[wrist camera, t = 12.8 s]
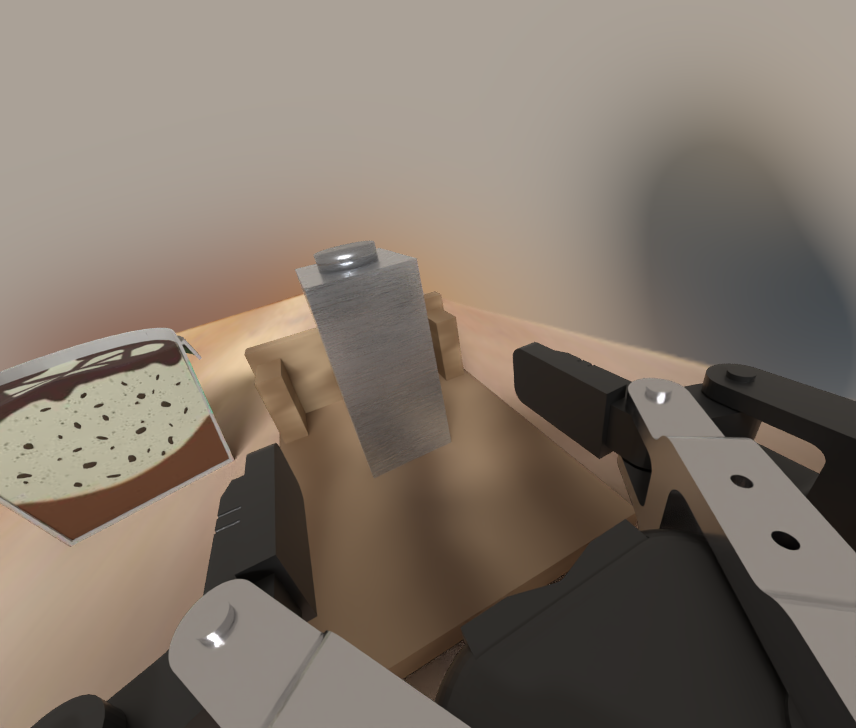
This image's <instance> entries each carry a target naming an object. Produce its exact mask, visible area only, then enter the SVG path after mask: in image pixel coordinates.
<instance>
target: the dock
mask: <svg viewBox="0 0 856 728" xmlns="http://www.w3.org/2000/svg"><path fill="white" fill-rule="evenodd" d="M424 300H425V305H426V311H427V316H428V321H429V327H430V332H431V337H432V342H433V348H434V353H435V358H436V363H437V369H438V374H439V379H440V385H441V390H442V395H443V400H444V406H445V411H446V416H447V421H448V427H449V432H450V437H451V443H449V444H447V445H444V446H442V447H440V448H438V449H436V450H434V451H431V452H429V453H427V454H425V455H423V456H421V457H419V458H416V459H414V460H412V461H410V462H408V463H406V464H404V465H401V466H399V467H397V468H395V469H393V470H391V471H388V472H386V473H384V474H382V475H380V476H378V477H376V478H374V477H373V475H372V472H371V470H370V467H369V465H368V462H367V459H366V457H365V454H364V452H363V449H362V447H361V444H360V442H359V439H358V436H357V434H356V431H355V429H354V426H353V424H352V421H351V418H350V416H349V413H348V410H347V408H346V405H345V402H344V400H343V397H342V394H341V392H340V389H339V386H338V383H337V381H336V378H335V375H334V373H333V370H332V367H331V365H330V362H329V359H328V357H327V354H326V351H325V349H324V346H323V343H322V341H321V338H320V335H319V332H318V330H317V327H316V328H313V329H310V330H307V331H303V332H300V333H297V334H293V335H290V336H287V337H284V338H280V339H277V340H274V341H270V342H267V343H264V344H261V345H257V346H254V347H251V348H247V349H246V351H245V357H246V359H247V361H248V363H249V365H250V367H251V369H252V371H253V373H254V375H255V386H256V388H257V390H258V392H259V394H260V396H261V398H262V400H263V402H264V404H265V406H266V407H267V409H268V411H269V413H270V415H271V417H272V419H273V421H274V423H275V425H276V427H277V429H278V431H279V432H280V449H281V451H282V452H283V454H284V456H285V458H286V460H287V462H288V464H289V466H290V468H291V470H292V471H293V473H294V475H295V477H296V479H297V481H298V483H299V486H300V488H301V491H302V495H303V499H304V506H305V515H306V523H307V532H308V540H309V549H310V557H311V566H312V574H313V583H314V592H315V600H316V609H317V617H315V618H314V619H312V620H310V621H308V622H307V623H309V624H310V625H311V626H313V627H314V628H316V629H317V630H319V631H320V632H323V633H325V631H326V630H328V631H331V632H333V633H335V634H337V635H338V636H340V637H342V638H343V639H345V640H346V641H347V642H349V643H350V644H352V645H353V646H355V647H356V648H357V649H359V650H360V651H362V652H363V653H365V654H366V655H368V656H369V657H370V658H372V659H373V660H375V661H376V662H378V663H379V664H380V665H382V666H383V667H385V668H386V669H388V670H389V671H390V672H392V673H393V674H395V675H396V676H398V677H399V678H401V679H403V678H405V677H407V676H408V675H410V674H411V673H413V672H414V671H416V670H417V669H419V668H420V667H422V666H423V665H425V664H427V663H428V662H430V661H431V660H433V659H434V658H436V657H437V656H439V655H440V654H442V653H443V652H445V651H446V650H448V649H450V648H451V647H453V646H454V645H456V644H457V643H459V642H460V641H462V640H463V635H462V632H461V628H460V627H462V626H463V625H465V624H466V623H468V622H469V621H471V620H472V619H474V618H475V617H477V616H478V615H480V614H481V613H483V612H484V611H486V610H487V609H489V608H491V607H492V606H494V605H495V604H497V603H498V602H500V601H501V600H503V599H504V598H506V597H508V596H511V595H515V594H518V593H522V592H525V591H529V590H532V589H536V588H539V587H543V586H546V585H548V584H550V583H551V582H553V581H554V580H556V579H557V578H559V577H560V576H562V575H563V574H565V573H566V572H568V571H569V570H570V569H571V567H572V566H573V565H574V563H575V562H576V561H577V559H578V558H579V557H580V555H581V554H582V553H583V551H584V550H585V549H586V547H587V546H588V544H589V543H590V542H591V541H592V540H594V539H596V538H597V537H599V536H600V535H602V534H603V533H605V532H606V531H608V530H609V529H611V528H612V527H614V526H615V525H617V524H618V523H620V522H621V521H623V520H624V519H626V520H628V521H629V522H630V523H631V524H632V525H633V526H636V522H637V517H636V514H635V511H634V508H633V505H631V504H630V503H629V502H628V501H626V500H625V499H624V498H623V497H621V496H620V495H619V494H618V493H616V492H615V491H614V490H613V489H612V488H610V487H609V486H608V485H607V484H605V483H604V482H603V481H602V480H600V479H599V478H598V477H597V476H595V475H594V474H593V473H592V472H591V471H589V470H588V469H587V468H586V467H584V466H583V465H582V464H581V463H579V462H578V461H577V460H576V459H575V458H573V457H572V456H571V455H570V454H568V453H567V452H566V451H565V450H563V449H562V448H561V447H560V446H558V445H557V444H556V443H555V442H554V441H552V440H551V439H550V438H549V437H547V436H546V435H545V434H544V433H542V432H541V431H540V430H539V429H538V428H536V427H535V426H534V425H533V424H531V423H530V422H529V421H528V420H526V419H525V418H524V417H523V416H521V415H520V414H519V413H518V412H517V411H515V410H514V409H513V408H512V407H510V406H509V405H508V404H507V403H505V402H504V401H503V400H502V399H500V398H499V397H498V396H497V395H496V394H494V393H493V392H492V391H491V390H489V389H488V388H487V387H486V386H484V385H483V384H482V383H481V382H480V381H478V380H477V379H476V378H475V377H473V376H472V375H471V374H470V373H468V372H467V371H466V370H465V369H463V364H462V357H461V350H460V343H459V336H458V329H457V322H456V317H455V316H453V315H451V314H450V313H448V312H446V311H444V309H443V303H442V297H441V294H440V293H437V292H431V293H428V294H425V295H424Z"/></svg>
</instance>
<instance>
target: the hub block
mask: <svg viewBox="0 0 856 728" xmlns="http://www.w3.org/2000/svg"><path fill="white" fill-rule="evenodd" d="M314 258H315V260H316V264H314V265H310V266H307V267H302V268H299V269H295V271H296V273H297V276H298V279H299V281H300V284H301V287H302V289H303V292H304V295H305V298H306V300H307V303H308V306H309V308H310V311H311V314H312V316H313V319H314V322H315V324H316V327H317V330H318V332H319V335H320V338H321V341H322V343H323V346H324V349H325V351H326V354H327V357H328V359H329V362H330V365H331V367H332V370H333V373H334V375H335V378H336V381H337V383H338V386H339V389H340V392H341V394H342V397H343V400H344V402H345V405H346V408H347V410H348V413H349V416H350V418H351V421H352V424H353V426H354V429H355V431H356V434H357V436H358V439H359V442H360V444H361V447H362V449H363V452H364V454H365V457H366V459H367V462H368V465H369V467H370V470H371V472H372V475H373V477H374V478H376V477H378V476H380V475H382V474H384V473H386V472H388V471H391V470H393V469H395V468H397V467H399V466H401V465H404V464H406V463H408V462H410V461H412V460H414V459H416V458H419V457H421V456H423V455H425V454H427V453H429V452H431V451H434V450H436V449H438V448H440V447H442V446H444V445H447V444H449V443H451V437H450V432H449V427H448V421H447V416H446V411H445V406H444V400H443V395H442V390H441V385H440V379H439V374H438V369H437V363H436V358H435V353H434V348H433V342H432V337H431V332H430V327H429V321H428V316H427V311H426V305H425V300H424V295H423V290H422V285H421V279H420V274H419V269H418V264H417V259H416V258H413V257H410V256H406V255H402V254H399V253H395V252H392V251H388V250H384V249H381V248H378V249H376V247H375V243H374V241H362V242H355V243H350V244H345V245H340V246H337V247H333V248H329V249H326V250H323V251H320V252H317V253H315V254H314Z"/></svg>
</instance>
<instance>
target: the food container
mask: <svg viewBox="0 0 856 728" xmlns="http://www.w3.org/2000/svg"><path fill="white" fill-rule="evenodd" d="M186 353H189V354H193V355H195V356H196V357H197V358H198V359H199V360H200V359H201V356H200V355H199V354H198V353H197V352H196V351H195V350H194V349H193V348H192V346H191V345H190V344H189V343H188V342H187V341H186V340H185V339H184V338H183V337H181V336H177V335H176V334H175V332H174V331H173V330H171V329H169V328H151V329H143V330H138V331H132V332H127V333H123V334H118V335H114V336H110V337H106V338H102V339H98V340H94V341H91V342H87V343H84V344H81V345H77V346H74V347H70V348H68V349H64V350H61V351H58V352H55V353H52V354H49V355H46V356H43V357H40V358H37V359H34V360H31V361H28V362H26V363H23V364H20V365H17V366H14V367H12V368H9V369H7V370H4V371H1V372H0V504H2V505H3V506H5V507H7V508H8V509H10V510H12V511H13V512H15V513H16V514H18V515H20V516H21V517H23V518H25V519H26V520H28V521H29V522H31V523H33V524H34V525H36V526H38V527H39V528H41V529H42V530H44V531H46V532H47V533H49V534H50V535H52V536H54V537H55V538H57V539H59V540H60V541H62V542H63V543H65V544H67V545H68V546H70V547H71V546H73V545H74V544H76V543H78V542H80V541H82V540H84V539H86V538H88V537H90V536H91V535H93V534H95V533H97V532H99V531H101V530H103V529H105V528H107V527H109V526H110V525H112V524H114V523H116V522H118V521H120V520H122V519H124V518H126V517H128V516H129V515H131V514H133V513H135V512H137V511H139V510H141V509H143V508H145V507H147V506H148V505H150V504H152V503H154V502H156V501H158V500H160V499H162V498H164V497H165V496H167V495H169V494H171V493H173V492H175V491H177V490H179V489H181V488H183V487H184V486H186V485H188V484H190V483H192V482H194V481H196V480H198V479H200V478H202V477H203V476H205V475H207V474H209V473H211V472H213V471H215V470H217V469H219V468H220V467H222V466H224V465H226V464H228V463H230V462H232V461H234V458H233V456H232V454H231V452H230V449H229V447H228V445H227V443H226V440H225V438H224V436H223V434H222V432H221V429H220V427H219V425H218V423H217V421H216V418H215V416H214V414H213V412H212V410H211V407H210V405H209V403H208V401H207V399H206V396H205V394H204V392H203V390H202V388H201V385H200V383H199V381H198V379H197V377H196V374H195V372H194V370H193V368H192V366H191V363H190V361H189V359H188V357H187V355H186Z"/></svg>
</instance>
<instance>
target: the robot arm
mask: <svg viewBox="0 0 856 728" xmlns="http://www.w3.org/2000/svg"><path fill="white" fill-rule="evenodd" d="M513 367H514V386H515V391H516V394H517V396H518V398H519V399H520V401H521V402H522V403H524V404H525V405H526V406H528V407H529V408H530V409H532V410H533V411H534V412H536V413H537V414H539V415H540V416H541V417H543V418H544V419H545V420H547V421H548V422H550V423H551V424H552V425H554V426H555V427H556V428H558V429H559V430H560V431H562V432H563V433H565V434H566V435H567V436H569V437H570V438H571V439H573V440H574V441H576V442H577V443H578V444H580V445H581V446H582V447H584V448H585V449H586V450H588V451H589V452H591V453H592V454H593V455H595V456H596V457H597V458H599V459H600V458H602V457H604V456H606V455H607V454H609V453H611V452H613V451H614V452H616V453H617V454H618V458H617V463H618V466H619V469H620V472H621V475H622V477H623V480H624V483H625V486H626V489H627V491H628V494H629V497H630V500H631V502H632V505H633V508H634V511H635V514H636V517H637V522H638V529H637V528H636V527H635V526H633V525H632V524H631V523H630V522H629V521H628V520H626V519H624V520H623V521H621V522H620V523H618V524H617V525H615V526H614V527H612V528H611V529H609V530H608V531H606V532H605V533H603V534H602V535H600V536H599V537H597V538H596V539H594V540H592V541H591V542H590V543H589V544H588V546H587V547H586V549H585V550H584V551H583V553H582V554H581V555H580V557H579V558H578V559H577V561H576V562H575V563H574V565H573V566H572V567H571V569H570V570H569V572H568V573H567V574H566V576H565V577H564V578H563V579H562V580H561V581H559V582H557V583H554V584H550V585H547V586H543V587H539V588H536V589H532V590H529V591H525V592H522V593H518V594H515V595H511V596H508V597H506V598H504V599H503V600H501V601H500V602H498V603H497V604H495V605H494V606H492V607H491V608H489V609H487V610H486V611H484V612H483V613H481V614H480V615H478V616H477V617H475V618H474V619H472V620H471V621H469V622H468V623H466V624H465V625H463V626H462V627H460V628H461V632H462V635H463V639H464V643H465V645H464V647H463V648H462V649H461V651H460V652H459V653H458V654H457V656H456V657H455V659H454V660H453V662H452V664H451V665H450V667H449V669H448V670H447V672H446V674H445V676H444V679H443V681H442V683H441V685H440V687H439V690H438V693H437V696H436V699H435V702H434V701H432V700H431V699H429V698H428V697H426V696H425V695H423V694H422V693H421V692H419V691H418V690H416V689H415V688H413V687H412V686H411V685H409V684H408V683H406V682H405V681H403V680H402V679H401V678H399V677H398V676H396V675H395V674H393V673H392V672H390V671H389V670H388V669H386V668H385V667H383V666H382V665H380V664H379V663H378V662H376V661H375V660H373V659H372V658H370V657H369V656H368V655H366V654H365V653H363V652H362V651H360V650H359V649H357V648H356V647H355V646H353V645H352V644H350V643H349V642H347V641H346V640H345V639H343V638H342V637H340V636H338V635H337V634H335V633H333V632H331V631H328V630H326V631H325V633H323V632H320V631H319V630H317V629H316V628H314V627H313V626H311V625H310V624H309V623H307V622H308V621H310V620H312V619H314V618H315V617H317V609H316V600H315V592H314V583H313V574H312V566H311V557H310V549H309V540H308V532H307V523H306V515H305V506H304V499H303V495H302V491H301V488H300V486H299V483H298V481H297V479H296V477H295V475H294V473H293V471H292V470H291V468H290V466H289V464H288V462H287V460H286V458H285V456H284V454H283V452H282V451H281V449H280V447H279V446H278V444H277V443H275V444H272V445H269V446H267V447H264V448H262V449H259V450H257V451H254V452H252V453H249V454H247V456H246V465H245V475H244V476H241V477H239V478H236V479H234V480H232V481H231V483H230V484H229V486H228V487H227V489H226V491H225V492H224V494H223V495H222V497H221V499H220V505H219V510H218V519H217V521H216V527H215V532H216V534H214V538H213V544H212V549H211V555H210V560H209V566H208V571H207V577H206V583H205V588H204V594H203V596H202V597H201V598H200V599H199V600H198V601H197V602H196V603H195V604H194V605H193V606H192V607H191V609H190V610H189V611H188V612H187V613H186V615H185V616H184V618H183V619H182V620H181V622H180V624H179V625H178V627H177V629H176V631H175V633H174V635H173V638H172V641H171V644H170V648H169V650H168V651H167V652H166V653H165V654H163V655H162V656H161V657H160V658H159V659H158V660H157V661H155V662H154V663H153V664H152V665H151V666H149V667H148V668H147V669H146V670H144V671H143V672H142V673H141V674H139V675H138V676H137V677H136V678H135V679H133V680H132V681H131V682H130V683H128V684H127V685H126V686H125V687H123V688H122V689H121V690H120V691H119V692H117V693H116V694H115V695H114V696H112V697H111V698H110V699H109V700H108V701H105V700H103V699H101V698H99V697H98V696H96V695H90V694H88V695H81V696H78V697H75V698H73V699H71V700H69V701H67V702H65V703H63V704H61V705H60V706H58V707H57V708H55V709H53V710H52V711H51V712H49V713H48V714H47V715H45V716H44V717H43V718H41V719H40V720H39V721H38V722H37V723H36V724H34V725H33V726H32V727H31V728H856V401H853V400H850V399H847V398H844V397H841V396H838V395H835V394H832V393H829V392H826V391H823V390H820V389H817V388H814V387H811V386H808V385H805V384H802V383H799V382H796V381H793V380H790V379H787V378H784V377H781V376H778V375H775V374H772V373H769V372H766V371H763V370H760V369H757V368H754V367H750V366H746V365H738V364H718V365H714V366H711V367H709V368H708V369H707V371H706V374H705V378H704V381H703V383H702V384H696V385H691V386H685V387H683V386H681V385H679V384H677V383H675V382H672V381H668V380H664V379H658V378H643V379H638V380H635V381H633V382H631V381H629V380H626V379H624V378H622V377H620V376H618V375H615V374H613V373H611V372H609V371H607V370H604V369H602V368H600V367H598V366H595V365H593V366H592V364H591V363H589V362H587V361H584V360H583V361H582V360H581V359H580V358H578V357H576V356H573V355H571V354H569V353H565V352H560V351H555V350H552V349H550V348H548V347H546V346H544V345H541V344H539V343H537V342H534V343H531V344H528V345H526V346H523V347H521V348H518V349H516V350H515V351H514V353H513ZM761 422H764V423H767V424H769V425H771V426H773V427H776V428H778V429H780V430H783V431H785V432H787V433H789V434H792V435H794V436H796V437H798V438H801V439H803V440H805V441H807V442H809V443H811V444H813V445H815V446H816V447H817V448H819V449H820V450H821V451H822V453H823V454H824V456H825V459H826V463H825V465H824V467H823V469H822V470H821V472H820V474H819V473H817V472H815V471H812V470H810V469H808V468H806V467H804V466H802V465H800V464H798V463H796V462H794V461H792V460H790V459H788V458H786V457H784V456H782V455H780V454H778V453H776V452H774V451H772V450H770V449H768V448H766V447H764V446H762V445H760V444H758V443H756V442H755V441H754V439H755V436H756V434H757V431H758V429H759V427H760V424H761Z"/></svg>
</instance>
